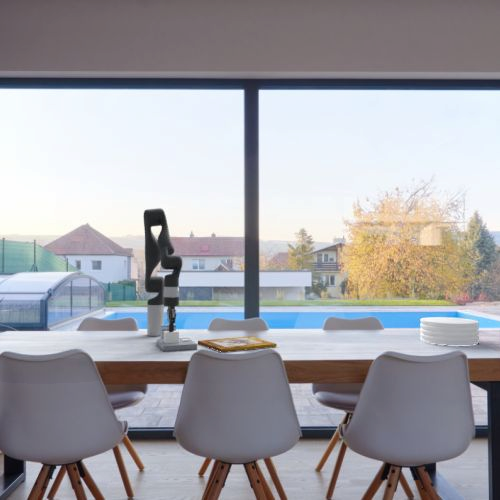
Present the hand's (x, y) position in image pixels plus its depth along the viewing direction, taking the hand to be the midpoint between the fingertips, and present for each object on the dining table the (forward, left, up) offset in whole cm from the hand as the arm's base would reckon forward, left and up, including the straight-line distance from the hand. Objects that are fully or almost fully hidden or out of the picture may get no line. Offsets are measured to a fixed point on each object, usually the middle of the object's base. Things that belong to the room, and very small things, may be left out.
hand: (171, 331), depth 228 cm
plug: (0, 0, -7) cm, 7 cm away
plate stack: (+34, +139, -8) cm, 143 cm away
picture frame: (+6, +32, -8) cm, 33 cm away
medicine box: (-17, +2, -8) cm, 19 cm away
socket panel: (0, +3, -8) cm, 8 cm away
